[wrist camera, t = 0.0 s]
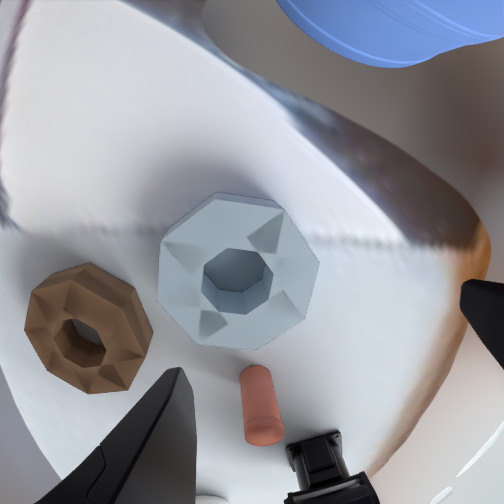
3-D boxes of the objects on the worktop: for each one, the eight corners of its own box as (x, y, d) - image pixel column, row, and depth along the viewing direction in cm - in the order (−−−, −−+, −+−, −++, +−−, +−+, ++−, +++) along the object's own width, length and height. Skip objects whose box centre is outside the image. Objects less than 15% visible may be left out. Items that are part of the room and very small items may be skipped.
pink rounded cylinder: (274, 384, 27) (287, 441, 20) (243, 391, 27) (250, 449, 20) (267, 361, 26) (280, 419, 19) (235, 369, 26) (240, 428, 19)
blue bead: (325, 275, 24) (340, 294, 20) (222, 343, 25) (223, 369, 22) (250, 167, 21) (256, 169, 17) (140, 251, 22) (127, 267, 19)
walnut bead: (166, 359, 25) (160, 386, 22) (76, 372, 25) (63, 395, 21) (121, 253, 22) (106, 270, 18) (29, 281, 22) (8, 298, 18)
